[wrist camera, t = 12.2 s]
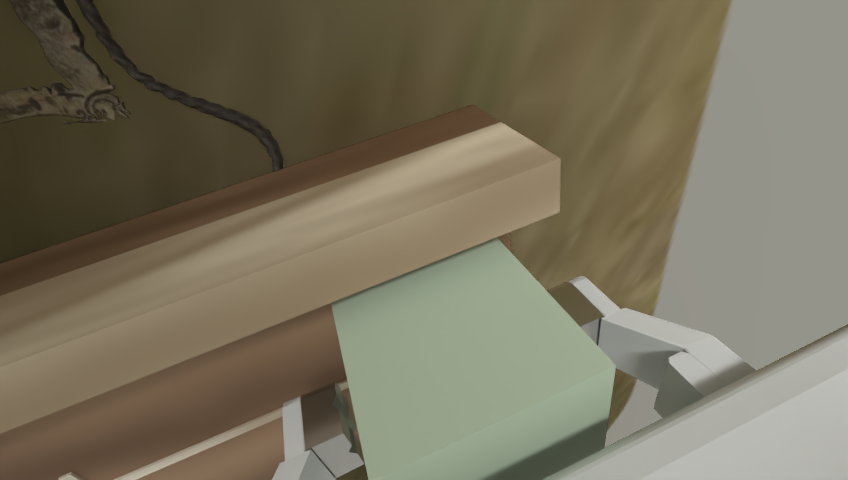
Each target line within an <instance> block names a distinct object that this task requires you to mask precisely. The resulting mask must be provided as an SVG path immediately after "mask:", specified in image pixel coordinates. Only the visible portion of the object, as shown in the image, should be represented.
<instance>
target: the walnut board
mask: <svg viewBox="0 0 848 480" xmlns="http://www.w3.org/2000/svg"><path fill="white" fill-rule="evenodd" d="M560 172H561V158H559V157H557V156H556V155H554V154H552V153H551V152H549V151H547V150H546V149H544V148H543V147H541V146H539V145H538V144H536V143H534V142H533V141H531V140H529V139H528V138H526V137H525V136H523V135H521V134H520V133H518V132H516V131H515V130H513V129H511V128H510V127H508V126H506V125H505V124H503V123H502V122H500V121H498V120H497V119H495V118H493V117H492V116H490V115H488V114H487V113H485V112H483V111H482V110H480V109H479V108H477V107H475V106H474V105H471V106H468V107H465V108H462V109H459V110H456V111H453V112H450V113H447V114H444V115H441V116H438V117H435V118H432V119H429V120H426V121H423V122H420V123H417V124H414V125H411V126H408V127H405V128H402V129H399V130H396V131H393V132H390V133H387V134H384V135H381V136H378V137H375V138H372V139H369V140H366V141H363V142H360V143H357V144H354V145H352V146H349V147H346V148H343V149H340V150H337V151H334V152H331V153H328V154H325V155H322V156H319V157H316V158H313V159H310V160H307V161H304V162H301V163H298V164H295V165H292V166H289V167H286V168H283V169H280V170H279V171H274V172H271V173H268V174H265V175H262V176H259V177H256V178H253V179H250V180H247V181H244V182H241V183H238V184H235V185H232V186H230V187H227V188H224V189H221V190H218V191H215V192H212V193H209V194H206V195H203V196H200V197H197V198H194V199H191V200H188V201H185V202H182V203H179V204H176V205H173V206H170V207H167V208H164V209H161V210H158V211H155V212H152V213H149V214H146V215H143V216H140V217H137V218H134V219H131V220H128V221H125V222H122V223H119V224H116V225H113V226H110V227H108V228H105V229H102V230H99V231H96V232H93V233H90V234H87V235H84V236H81V237H78V238H75V239H72V240H69V241H66V242H63V243H60V244H57V245H54V246H51V247H48V248H45V249H42V250H39V251H36V252H33V253H30V254H27V255H24V256H21V257H18V258H15V259H12V260H9V261H6V262H3V263H0V480H272V478H273V476H274V474H275V472H276V470H277V468H278V466H279V463H281V462H283V461H285V455H284V436H283V416H282V408H283V404H284V402H287V401H289V400H292V399H294V398H296V397H299V396H301V395H304V394H306V393H309V392H311V391H314V390H316V389H319V388H321V387H324V386H326V385H329V384H331V383H334V382H337V383H338V385H339V386H340V388H341V393H342V395H344V396H346V398H347V399H348V401H349V403H350V406H351V408H352V411H353V414H354V409H353V405H352V400H351V395H350V390H349V386H348V381H347V376H346V372H345V367H344V362H343V358H342V353H341V348H340V343H339V339H338V334H337V329H336V325H335V320H334V315H333V310H332V306H331V303H332V302H334V301H337V300H339V299H342V298H344V297H347V296H350V295H352V294H355V293H357V292H360V291H362V290H365V289H367V288H370V287H372V286H375V285H377V284H380V283H382V282H385V281H387V280H390V279H392V278H395V277H397V276H400V275H403V274H405V273H408V272H410V271H413V270H415V269H418V268H420V267H423V266H425V265H428V264H430V263H433V262H435V261H438V260H440V259H443V258H445V257H448V256H451V255H453V254H456V253H458V252H461V251H463V250H466V249H468V248H471V247H473V246H476V245H478V244H481V243H483V242H486V241H488V240H491V239H493V238H496V237H497V238H498V239H499V240H500V241H501V242H502V243H503V245H504V246H505V247H506V248H507V249H508V250H509V251H510V252H511V253H512V251H511V239H510V232H511V231H514V230H516V229H519V228H521V227H524V226H526V225H529V224H531V223H534V222H536V221H539V220H541V219H544V218H547V217H549V216H552V215H554V214H557V213H559V212H560ZM354 417H355V414H354ZM355 422H356V419H355ZM356 426H357V423H356ZM354 433H355V435H356V436H357V438H358V439H359V441H360V438H359V433H358V428H357V427H356V429H355V432H354ZM360 445H361V442H360ZM361 449H362V447H361Z"/></svg>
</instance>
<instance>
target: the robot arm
mask: <svg viewBox="0 0 848 480" xmlns="http://www.w3.org/2000/svg"><path fill="white" fill-rule="evenodd" d="M547 292H548V293H549V294H550V295H551V296H552V297H553V298H554V299H555V300H556V302H557V303H558V304H559V305H560V306H561V307H562V308H563V309H564V310H565V311H566V312H567V313H568V314H569V315H570V317H571V318H572V319H573V320H574V321H575V322H576V323H577V324H578V325H579V326H580V327H581V328H582V329H583V331H584V332H585V333H586V334H587V335H588V336H589V337H590V338H591V339H592V340H593V341H594V342H595V343H596V344H597V346H598V347H599V348H600V349H601V350H602V351H603V352H604V353H605V354H606V355H607V356H608V357H609V358H610V360H611V361H612V362H613V363H614V364H615V365H616V368H617V369H619V370H621V371H623V372H625V373H627V374H629V375H631V376H633V377H635V378H637V379H639V380H641V381H643V382H645V383H647V384H649V385H651V386H653V387H655V388H657V389H659V391H658V394H657V397H656V401H655V405H654V409H655V410H656V411H657V412H658V413H659V415H660V416H661V417H662V419H661V420H659V421H657V422H655V423H653V424H651V425H649V426H647V427H645V428H643V429H641V430H639V431H637V432H635V433H633V434H631V435H629V436H627V437H625V438H623V439H621V440H619V441H617V442H615V443H613V444H611V445H610V446H607V447H606V448H603V449H602V450H600V451H598V452H596V453H594V454H592V455H590V456H588V457H586V458H584V459H582V460H580V461H578V462H576V463H574V464H572V465H570V466H568V467H566V468H564V469H562V470H560V471H558V472H556V473H554V474H552V475H550V476H548V477H546V478H544V479H543V480H848V324H847V325H845V326H843V327H841V328H840V329H838V330H836V331H834V332H832V333H830V334H828V335H826V336H824V337H822V338H820V339H818V340H816V341H814V342H812V343H810V344H808V345H806V346H804V347H802V348H800V349H798V350H796V351H794V352H792V353H790V354H788V355H786V356H784V357H782V358H780V359H779V360H777V361H775V362H773V363H771V364H769V365H767V366H765V367H763V368H761V369H759V370H757V371H756V370H755V369H754V368H752V367H751V366H750V365H749V364H748V363H746V362H745V361H744V360H743V359H741V358H740V357H739V356H737V355H736V354H735V353H734V352H732V351H731V350H730V349H729V348H727V347H726V346H725V345H723V344H722V343H721V342H720V341H719V340H717V339H716V338H715V337H714V336H712V335H709V334H706V333H703V332H700V331H697V330H694V329H690V328H687V327H684V326H681V325H678V324H675V323H672V322H669V321H665V320H662V319H659V318H656V317H653V316H650V315H646V314H643V313H640V312H637V311H634V310H631V309H628V308H623V309H620V308H619V307H618V306H617V305H615V304H614V303H613V302H612V301H611V300H610V299H609V298H608V297H607V296H606V295H605V294H603V293H602V292H601V291H600V290H599V289H598V288H597V287H596V286H595V285H594V284H592V283H591V282H590V281H589V280H588V279H587V278H586V277H584V276H579V277H577V278H575V279H573V280H570V281H568V282H565V283H562V284H560V285H558V286H556V287H553V288H551V289H549V290H547ZM282 416H283V436H284V455H285V461H283V462H281V463H279V466H278V468H277V470H276V472H275V474H274V476H273V478H272V480H336V479H335V478H337V477H339V476H341V475H343V474H345V473H347V472H349V471H351V470H353V469H355V468H357V467H359V466H361V465H363V464H364V459H363V454H362V449H361V445H360V441H359V439H358V438H357V436H356V435H355V433H354V432H355V429H356V427H357V426H356V422H355V417H354V414H353V411H352V408H351V406H350V403H349V401H348V399H347V398H346V396H344V395H342V393H341V388H340V386H339V385H338V383H337V382H334V383H331V384H329V385H326V386H324V387H321V388H319V389H316V390H314V391H311V392H309V393H306V394H304V395H301V396H299V397H296V398H294V399H292V400H289V401H287V402H284V404H283V408H282Z"/></svg>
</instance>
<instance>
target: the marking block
mask: <svg viewBox="0 0 848 480" xmlns="http://www.w3.org/2000/svg"><path fill="white" fill-rule="evenodd" d="M331 306H332V310H333V315H334V320H335V325H336V329H337V334H338V339H339V343H340V348H341V353H342V358H343V362H344V367H345V372H346V376H347V381H348V386H349V390H350V395H351V400H352V405H353V409H354V414H355V419H356V423H357V428H358V433H359V438H360V442H361V447H362V452H363V456H364V461H365V466H366V470H367V475H368V480H543V479H544V478H546V477H548V476H550V475H552V474H554V473H556V472H558V471H560V470H562V469H564V468H566V467H568V466H570V465H572V464H574V463H576V462H578V461H580V460H582V459H584V458H586V457H588V456H590V455H592V454H594V453H596V452H598V451H600V450H602V449H603V448H604V446H605V439H606V432H607V425H608V418H609V411H610V404H611V397H612V390H613V383H614V376H615V369H616V365H615V364H614V363H613V362H612V361H611V360H610V358H609V357H608V356H607V355H606V354H605V353H604V352H603V351H602V350H601V349H600V348H599V347H598V346H597V344H596V343H595V342H594V341H593V340H592V339H591V338H590V337H589V336H588V335H587V334H586V333H585V332H584V331H583V329H582V328H581V327H580V326H579V325H578V324H577V323H576V322H575V321H574V320H573V319H572V318H571V317H570V315H569V314H568V313H567V312H566V311H565V310H564V309H563V308H562V307H561V306H560V305H559V304H558V303H557V302H556V300H555V299H554V298H553V297H552V296H551V295H550V294H549V293H548V292H547V291H546V290H545V289H544V288H543V286H542V285H541V284H540V283H539V282H538V281H537V280H536V279H535V278H534V277H533V276H532V275H531V274H530V273H529V271H528V270H527V269H526V268H525V267H524V266H523V265H522V264H521V263H520V262H519V261H518V260H517V259H516V257H515V256H514V255H513V254H512V253H511V252H510V251H509V250H508V249H507V248H506V247H505V246H504V245H503V243H502V242H501V241H500V240H499V239H498V238H497V237H496V238H493V239H491V240H488V241H486V242H483V243H481V244H478V245H476V246H473V247H471V248H468V249H466V250H463V251H461V252H458V253H456V254H453V255H451V256H448V257H445V258H443V259H440V260H438V261H435V262H433V263H430V264H428V265H425V266H423V267H420V268H418V269H415V270H413V271H410V272H408V273H405V274H403V275H400V276H397V277H395V278H392V279H390V280H387V281H385V282H382V283H380V284H377V285H375V286H372V287H370V288H367V289H365V290H362V291H360V292H357V293H355V294H352V295H350V296H347V297H344V298H342V299H339V300H337V301H334V302H332V303H331Z"/></svg>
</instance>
